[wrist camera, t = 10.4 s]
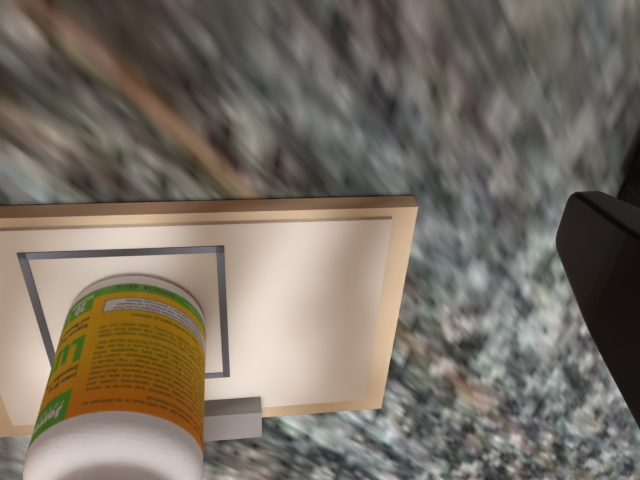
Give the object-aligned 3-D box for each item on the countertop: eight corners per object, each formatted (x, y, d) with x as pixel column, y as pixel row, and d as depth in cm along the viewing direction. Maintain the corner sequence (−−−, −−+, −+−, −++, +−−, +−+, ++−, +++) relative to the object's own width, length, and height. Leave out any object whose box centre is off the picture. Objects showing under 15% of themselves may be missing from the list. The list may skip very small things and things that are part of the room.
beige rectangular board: (412, 195, 24) (426, 223, 22) (377, 395, 31) (386, 426, 29) (-87, 208, 21) (-111, 240, 20) (0, 422, 28) (-12, 458, 27)
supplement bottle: (76, 258, 22) (1, 512, 14) (221, 285, 24) (223, 524, 16) (58, 358, 25) (-12, 614, 17) (189, 375, 27) (177, 616, 19)
